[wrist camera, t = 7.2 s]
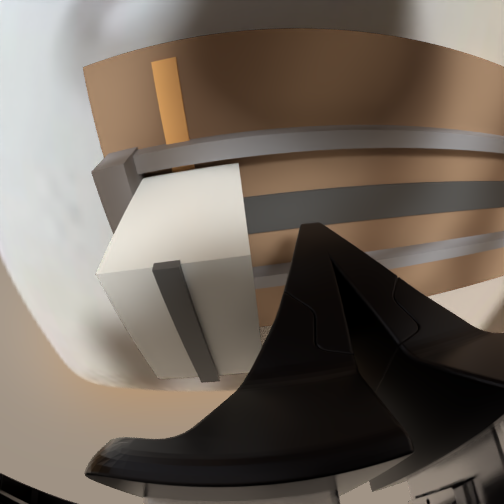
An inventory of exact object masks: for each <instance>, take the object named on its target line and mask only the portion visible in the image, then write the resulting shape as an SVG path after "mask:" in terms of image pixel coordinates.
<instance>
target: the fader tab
mask: <svg viewBox="0 0 504 504" xmlns="http://www.w3.org/2000/svg"><path fill="white" fill-rule="evenodd" d="M96 276H97V278H98V280H99V282H100V284H101V285H102V287H103V289H104V291H105V293H106V295H107V297H108V298H109V300H110V302H111V304H112V306H113V307H114V309H115V311H116V313H117V314H118V316H119V318H120V320H121V321H122V323H123V325H124V326H125V328H126V330H127V331H128V333H129V335H130V336H131V338H132V339H133V341H134V343H135V344H136V346H137V347H138V349H139V351H140V352H141V354H142V355H143V357H144V358H145V360H146V361H147V363H148V364H149V366H150V367H151V369H152V370H153V372H154V373H155V375H156V376H157V377H158V379H173V378H193V377H199V378H200V380H201V382H215V381H220V377H219V376H221V375H232V374H242V373H249V372H250V370H251V368H252V366H253V364H254V362H255V360H256V358H257V356H258V354H259V352H260V350H261V348H262V343H261V335H260V326H259V318H258V310H257V302H256V294H255V286H254V278H253V270H252V262H251V254H250V246H249V239H248V231H247V224H246V216H245V208H244V201H243V193H242V186H241V178H240V170H239V163H232V164H225V165H217V166H210V167H204V168H197V169H191V170H185V171H179V172H173V173H167V174H162V175H156V176H151V177H146V178H143V179H142V181H141V183H140V185H139V187H138V188H137V190H136V192H135V194H134V196H133V198H132V199H131V201H130V203H129V205H128V207H127V209H126V211H125V213H124V215H123V217H122V219H121V221H120V223H119V225H118V227H117V229H116V231H115V233H114V235H113V237H112V239H111V241H110V243H109V246H108V248H107V250H106V252H105V254H104V257H103V259H102V261H101V263H100V266H99V268H98V270H97V273H96Z"/></svg>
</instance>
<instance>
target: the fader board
mask: <svg viewBox="0 0 504 504" xmlns="http://www.w3.org/2000/svg"><path fill="white" fill-rule="evenodd" d="M83 71H84V77H85V82H86V87H87V91H88V96H89V101H90V105H91V109H92V114H93V118H94V122H95V126H96V130H97V134H98V137H99V141H100V145H101V149H102V152H103V156H104V159H103V160H102V161H101V162H100V163H99V164H98V165H97V166H96V167H95V169H94V170H93V171H92V176H93V179H94V182H95V185H96V188H97V191H98V194H99V196H100V199H101V202H102V205H103V208H104V210H105V213H106V216H107V219H108V221H109V224H110V226H111V229H112V232H113V234H114V233H115V231H116V229H117V227H118V225H119V223H120V221H121V219H122V217H123V215H124V213H125V211H126V209H127V207H128V205H129V203H130V201H131V199H132V198H133V196H134V194H135V192H136V190H137V188H138V187H139V185H140V183H141V181H142V179H143V178H146V177H151V176H156V175H162V174H167V173H173V172H179V171H185V170H191V169H197V168H204V167H210V166H217V165H225V164H232V163H239V170H240V178H241V186H242V193H243V201H244V208H245V216H246V224H247V231H248V239H249V246H250V254H251V262H252V270H253V278H254V286H255V294H256V302H257V310H258V318H259V326H260V327H262V326H270V325H273V322H274V320H275V318H276V315H277V312H278V308H279V305H280V302H281V298H282V295H283V292H284V288H285V284H286V280H287V276H288V272H289V269H290V265H291V261H292V257H293V253H294V249H295V245H296V241H297V237H298V232H299V228H300V225H301V224H306V223H315V222H320V223H322V224H323V225H325V226H326V227H328V228H329V229H331V230H332V231H334V232H335V233H337V234H338V235H340V236H341V237H343V238H344V239H346V240H347V241H349V242H350V243H352V244H353V245H355V246H356V247H358V248H359V249H360V250H362V251H363V252H365V253H366V254H368V255H369V256H370V257H372V258H373V259H375V260H376V261H378V262H379V263H380V264H382V265H383V266H385V267H386V268H387V269H389V270H390V271H392V272H393V273H394V274H396V275H397V276H398V277H400V278H401V279H403V280H404V281H405V282H407V283H408V284H410V285H411V286H412V287H414V288H415V289H417V290H418V291H419V292H421V293H422V294H424V295H425V296H431V295H435V294H439V293H443V292H447V291H451V290H455V289H458V288H462V287H466V286H469V285H473V284H477V283H480V282H484V281H487V280H491V279H494V278H497V277H501V276H503V275H504V67H503V66H501V65H498V64H496V63H493V62H490V61H488V60H485V59H482V58H479V57H476V56H473V55H470V54H467V53H464V52H460V51H457V50H454V49H450V48H446V47H443V46H439V45H435V44H431V43H426V42H422V41H417V40H412V39H407V38H402V37H396V36H390V35H383V34H376V33H368V32H359V31H349V30H335V29H312V28H284V29H260V30H246V31H236V32H227V33H218V34H211V35H204V36H198V37H192V38H187V39H181V40H176V41H171V42H167V43H162V44H158V45H154V46H150V47H146V48H142V49H138V50H134V51H131V52H127V53H124V54H121V55H117V56H114V57H111V58H108V59H105V60H102V61H99V62H96V63H93V64H91V65H88V66H85V67H83Z"/></svg>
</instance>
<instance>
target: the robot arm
mask: <svg viewBox="0 0 504 504" xmlns="http://www.w3.org/2000/svg"><path fill="white" fill-rule="evenodd" d="M85 476H86V477H88V478H89V479H91V480H94V481H96V482H99V483H101V484H104V485H106V486H109V487H112V488H115V489H118V490H121V491H124V492H126V493H130V494H132V495H136V496H139V497H142V498H143V504H340V500H339V496H341V495H342V494H345V493H347V492H349V491H351V490H353V489H355V488H357V487H358V486H360V485H362V484H364V483H366V482H367V481H369V482H370V486H371V489H372V492H373V491H377V490H380V489H384V488H387V487H390V486H393V485H396V484H399V483H402V482H405V481H407V482H408V487H409V491H410V496H411V501H408V504H504V333H491V332H486V331H483V330H480V329H478V328H475V327H474V326H472V325H470V324H469V323H467V322H466V321H464V320H463V319H461V318H460V317H458V316H456V315H455V314H453V313H452V312H450V311H449V310H447V309H445V308H444V307H442V306H441V305H439V304H438V303H436V302H434V301H433V300H431V299H430V298H428V297H427V296H425V295H424V294H422V293H421V292H419V291H418V290H417V289H415V288H414V287H412V286H411V285H410V284H408V283H407V282H405V281H404V280H403V279H401V278H400V277H398V276H397V275H396V274H394V273H393V272H392V271H390V270H389V269H387V268H386V267H385V266H383V265H382V264H380V263H379V262H378V261H376V260H375V259H373V258H372V257H370V256H369V255H368V254H366V253H365V252H363V251H362V250H360V249H359V248H358V247H356V246H355V245H353V244H352V243H350V242H349V241H347V240H346V239H344V238H343V237H341V236H340V235H338V234H337V233H335V232H334V231H332V230H331V229H329V228H328V227H326V226H325V225H323V224H322V223H320V222H315V223H306V224H301V225H300V228H299V232H298V237H297V241H296V245H295V249H294V253H293V257H292V261H291V265H290V269H289V272H288V276H287V280H286V284H285V288H284V292H283V295H282V298H281V302H280V305H279V308H278V312H277V315H276V318H275V320H274V322H273V325H272V327H271V329H270V332H269V334H268V336H267V338H266V340H265V342H264V344H263V346H262V348H261V350H260V352H259V354H258V356H257V358H256V360H255V362H254V364H253V366H252V368H251V370H250V372H249V373H248V375H247V377H246V378H245V380H244V382H243V383H242V385H241V386H240V387H239V388H238V390H237V391H236V392H235V393H234V394H232V395H231V396H230V397H229V398H228V399H227V400H225V401H224V402H223V403H222V404H221V405H220V406H218V407H217V408H216V409H215V410H214V411H212V412H211V413H210V414H209V415H207V416H206V417H205V418H204V419H203V420H201V421H200V422H199V423H198V424H196V425H195V426H194V427H193V428H191V429H190V430H188V431H186V432H185V433H183V434H180V435H177V436H175V437H170V438H166V439H143V438H128V437H125V438H116V439H112V440H110V441H109V442H108V443H107V444H106V445H105V446H104V447H102V448H101V449H100V451H98V452H97V453H96V454H95V455H94V457H93V458H92V459H91V461H90V462H89V464H88V466H87V468H86V470H85ZM0 504H77V503H74V502H71V501H68V500H64V499H62V498H59V497H56V496H53V495H51V494H48V493H45V492H43V491H40V490H37V489H35V488H32V487H30V486H28V485H25V484H23V483H21V482H19V481H16V480H14V479H12V478H10V477H8V476H6V475H4V474H2V473H0Z"/></svg>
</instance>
